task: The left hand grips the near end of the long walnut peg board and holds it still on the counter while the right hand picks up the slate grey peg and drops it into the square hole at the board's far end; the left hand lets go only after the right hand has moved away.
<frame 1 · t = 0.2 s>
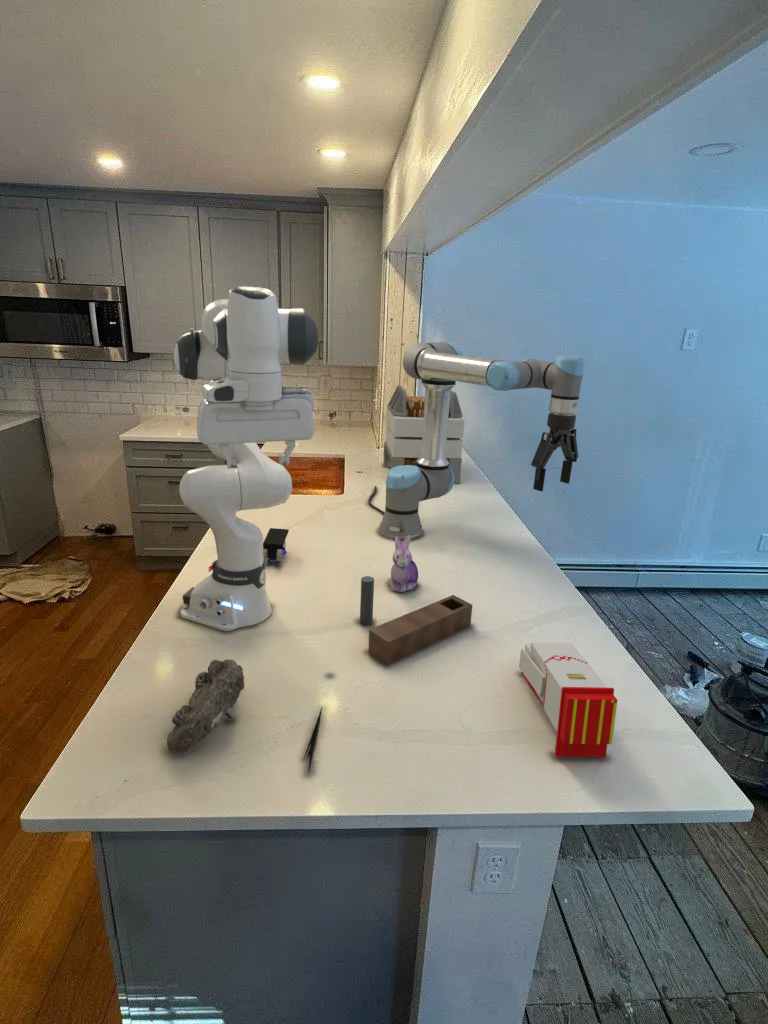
left hand: (258, 465, 102), 47 cm above the counter, fingers open, 8 cm apart
right hand: (551, 486, 165), 28 cm above the counter, fingers open, 13 cm apart
fossil: (212, 717, 108), on the counter
feather: (319, 719, 109), on the counter
toy: (556, 707, 115), on the counter
figurine: (403, 585, 163), on the counter
peg board: (421, 638, 137), on the counter
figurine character: (275, 558, 176), on the counter
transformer: (419, 473, 275), on the counter
peg: (366, 621, 143), on the counter
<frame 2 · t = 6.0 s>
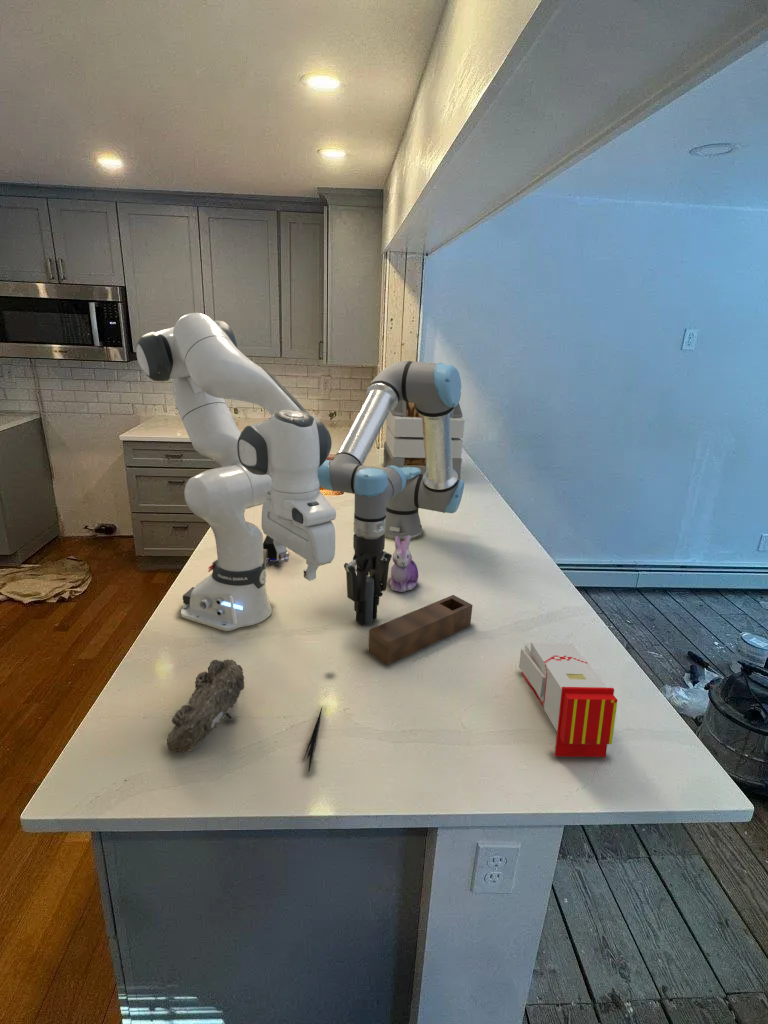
left hand: (296, 569, 108), 27 cm above the counter, fingers open, 8 cm apart
right hand: (366, 619, 143), 1 cm above the counter, fingers closed on peg, 3 cm apart
peg: (366, 621, 143), on the counter, touching right hand
everything else where it was.
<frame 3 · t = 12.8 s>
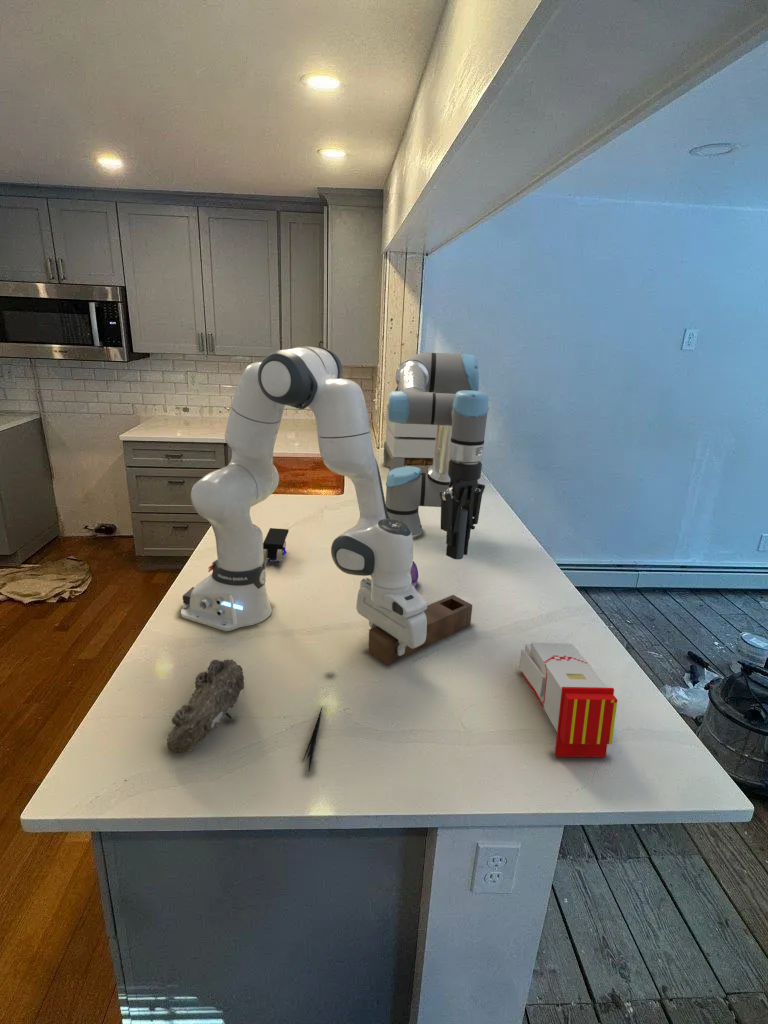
left hand: (388, 645, 130), 2 cm above the counter, fingers closed on peg board, 6 cm apart
right hand: (456, 554, 137), 20 cm above the counter, fingers closed on peg, 3 cm apart
peg board: (421, 638, 137), on the counter, touching left hand
peg: (456, 556, 137), point 19 cm above the counter, touching right hand
everything else where it was.
when the right hand's fingers open (8 cm above the counter, at t = 16.3 s): peg drops 7 cm, resting in peg board.
when the left hand's fingers open (2 cm above the counter, at t = 21.0 s): peg board stays where it is, on the counter.
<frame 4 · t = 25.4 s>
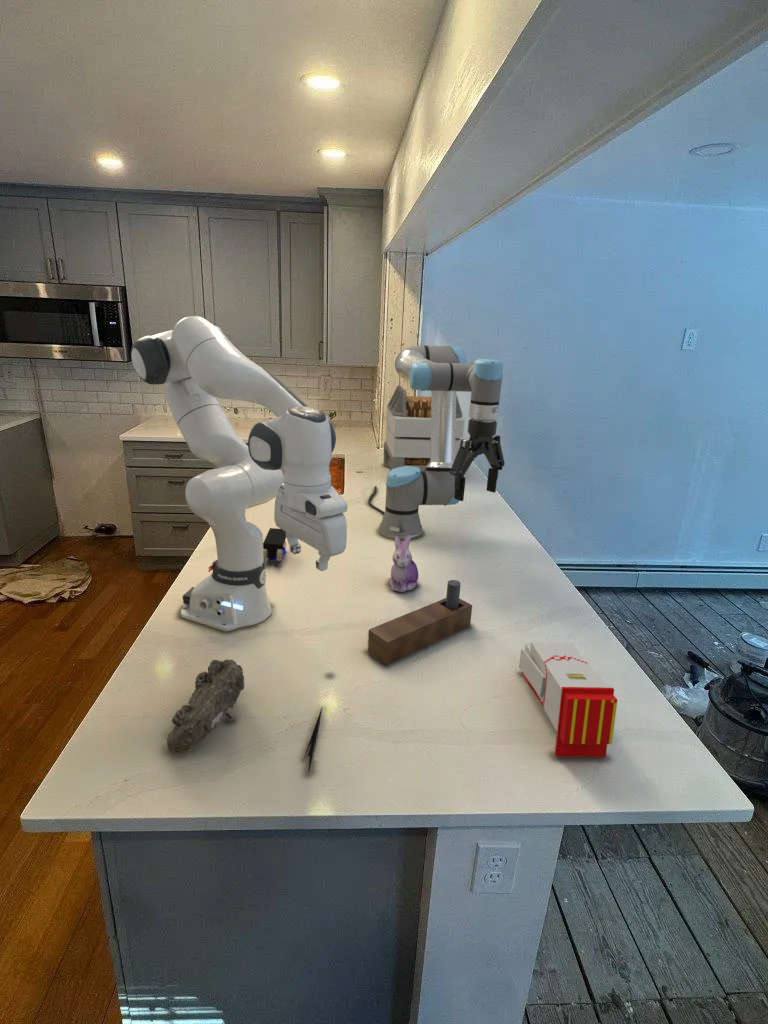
left hand: (308, 560, 112), 27 cm above the counter, fingers open, 8 cm apart
right hand: (475, 495, 158), 27 cm above the counter, fingers open, 13 cm apart
peg board: (421, 638, 137), on the counter
peg: (450, 625, 143), resting in peg board
everything else where it was.
at the end: peg 0.1 cm from the target spot on the peg board, point 0.0 cm above the peg board's base; peg board moved 0.1 cm from its start; peg tilted 0° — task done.
